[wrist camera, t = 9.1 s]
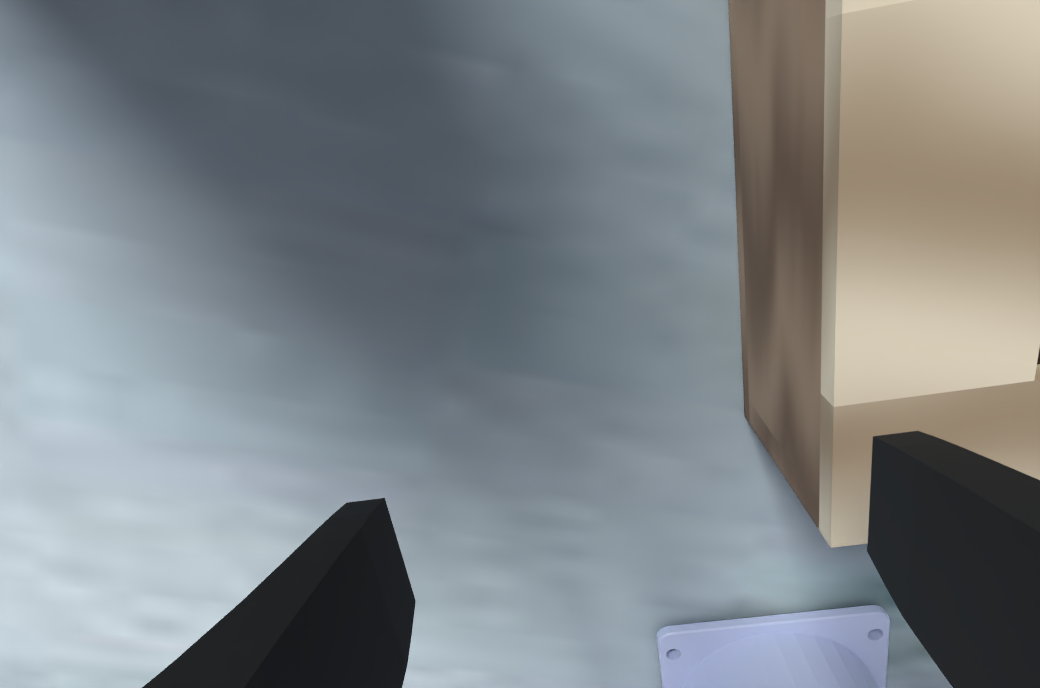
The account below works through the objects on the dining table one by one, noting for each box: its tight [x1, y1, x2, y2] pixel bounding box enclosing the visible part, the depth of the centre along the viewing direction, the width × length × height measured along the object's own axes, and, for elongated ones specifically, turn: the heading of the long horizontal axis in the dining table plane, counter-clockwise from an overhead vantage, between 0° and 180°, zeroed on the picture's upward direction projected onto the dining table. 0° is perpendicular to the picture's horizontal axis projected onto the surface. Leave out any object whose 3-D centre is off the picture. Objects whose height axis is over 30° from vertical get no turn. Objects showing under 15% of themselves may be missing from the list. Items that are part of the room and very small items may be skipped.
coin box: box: [728, 0, 1040, 548], centre depth 13 cm, size 14×11×6 cm
